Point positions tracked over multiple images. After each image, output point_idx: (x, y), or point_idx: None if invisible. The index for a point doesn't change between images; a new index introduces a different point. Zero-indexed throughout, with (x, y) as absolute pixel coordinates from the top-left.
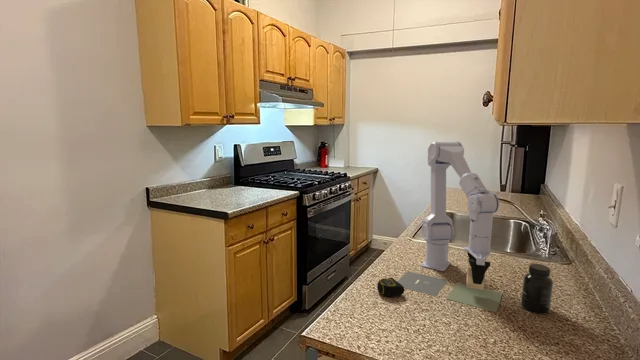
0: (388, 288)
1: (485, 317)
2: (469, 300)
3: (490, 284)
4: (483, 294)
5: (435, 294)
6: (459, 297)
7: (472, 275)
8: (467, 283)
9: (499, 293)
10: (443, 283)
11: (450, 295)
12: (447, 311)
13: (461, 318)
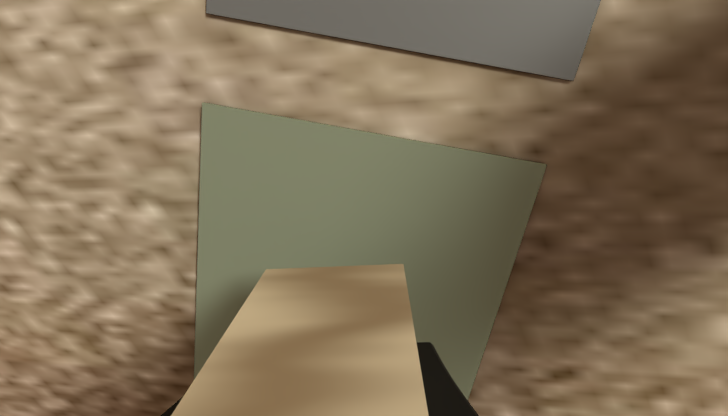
0: None
1: (105, 325)
2: (258, 253)
3: (583, 374)
4: None
5: (235, 3)
6: (270, 191)
7: (171, 407)
8: (253, 290)
9: None
10: (491, 53)
11: (272, 127)
12: (29, 119)
13: (2, 207)
